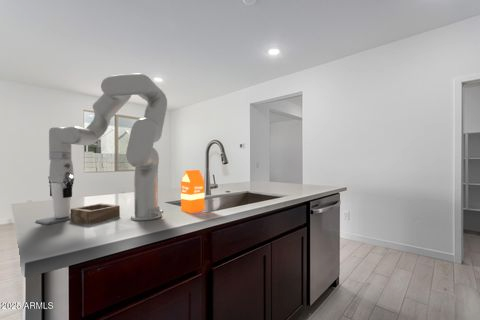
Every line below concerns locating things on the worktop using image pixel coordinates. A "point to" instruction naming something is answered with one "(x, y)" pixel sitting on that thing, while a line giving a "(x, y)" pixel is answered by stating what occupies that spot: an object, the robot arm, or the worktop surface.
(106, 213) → the walnut holder
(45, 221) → the charcoal tile coaster
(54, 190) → the drinking glass
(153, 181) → the robot arm
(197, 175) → the orange juice
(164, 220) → the worktop surface
